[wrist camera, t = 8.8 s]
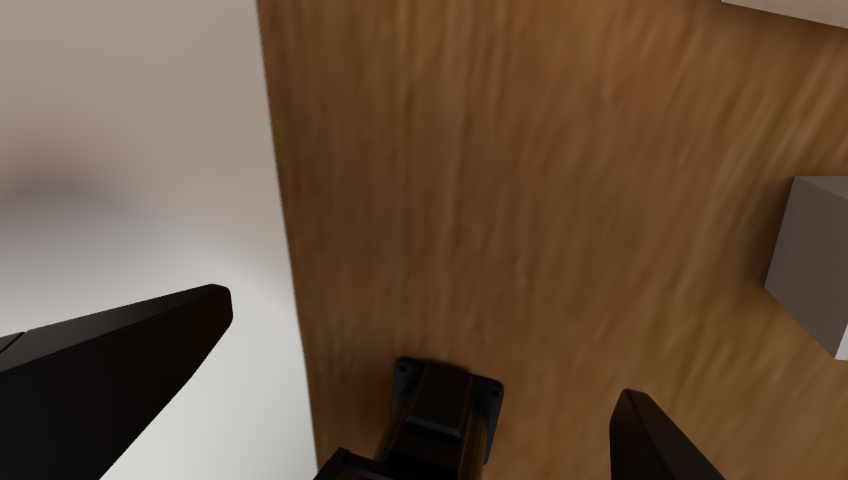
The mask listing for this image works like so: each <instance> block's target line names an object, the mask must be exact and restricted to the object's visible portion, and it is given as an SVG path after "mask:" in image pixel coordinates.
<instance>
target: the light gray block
mask: <svg viewBox="0 0 848 480" xmlns="http://www.w3.org/2000/svg"><path fill="white" fill-rule="evenodd" d="M764 288H765V289H766V290H767V291H768V292H769V293H770V294H771V295H772V296H773V297H774V298H775V299H776V300H777V301H778V302H779V303H780V304H781V305H782V306H783V307H784V308H785V309H786V310H787V311H788V312H789V313H790V314H791V315H792V316H793V317H794V318H795V320H796V321H797V322H798V323H799V324H800V325H801V326H802V327H803V328H804V329H805V330H806V331H807V332H808V333H809V334H810V335H811V336H812V337H813V338H814V339H815V340H816V341H817V342H818V343H819V344H820V345H821V346H822V347H823V348H824V349H825V350H826V351H827V352H828V353H829V354H830V355H831V356H832V357H833V358H834V359H840V360H848V176H795V177H794V180H793V184H792V188H791V191H790V195H789V199H788V202H787V206H786V209H785V213H784V217H783V220H782V224H781V228H780V231H779V235H778V239H777V242H776V246H775V249H774V253H773V257H772V260H771V264H770V268H769V271H768V275H767V278H766V282H765V286H764Z"/></svg>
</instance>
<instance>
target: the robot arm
mask: <svg viewBox="0 0 848 480" xmlns="http://www.w3.org/2000/svg"><path fill="white" fill-rule="evenodd" d="M232 319H233V310H232V302H231V294H230V291H229V289H228V288H227V287H224V286H220V285H216V284H208V285H204V286H200V287H196V288H192V289H189V290H185V291H181V292H177V293H173V294H169V295H165V296H161V297H157V298H153V299H149V300H146V301H141V302H137V303H134V304H130V305H126V306H122V307H118V308H114V309H110V310H106V311H102V312H98V313H94V314H90V315H86V316H82V317H79V318H75V319H71V320H67V321H63V322H59V323H55V324H51V325H47V326H43V327H39V328H35V329H31V330H28V331H27V332H19V333H15V334H11V335H8V336H4V337H0V480H100V478H101V477H102V476H103V475H104V474H105V473H106V472H107V471H108V469H109V468H110V467H111V466H112V465H113V464H114V463H115V462H116V461H117V459H118V458H119V457H120V456H121V455H122V454H123V453H124V452H125V451H126V450H127V448H128V447H129V446H130V445H131V444H132V443H133V442H134V440H135V439H136V438H137V437H138V436H139V435H140V434H141V433H142V432H143V431H144V430H145V428H146V427H147V426H148V425H149V424H150V423H151V421H153V420H154V418H155V417H156V416H157V415H158V414H159V413H160V412H161V411H162V410H163V408H164V407H165V406H166V405H167V404H168V403H169V402H170V401H171V399H172V398H173V397H174V396H175V395H176V394H177V393H178V392H179V391H180V389H181V388H182V387H183V386H184V385H185V384H186V383H187V382H188V380H189V379H190V378H191V377H192V376H193V374H194V373H195V372H196V370H197V369H198V368H199V367H200V365H201V364H202V363H203V361H204V360H205V359H206V357H207V356H208V354H209V353H210V352H211V351H212V349H213V348H214V346H215V345H216V344H217V342H218V341H219V340H220V338H221V337H222V336H223V334H224V333H225V332H226V330H227V329H228V328H229V326H230V325H231V322H232ZM402 365H404V366H406V368H404V367H403V366H402ZM492 390H496V391H498V392H493V391H492ZM503 396H504V387H503V386H502V385H501V384H500V383H498V382H494V381H491V380H487V379H483V378H479V377H475V376H472V375H468V374H464V373H460V372H457V371H453V370H449V369H445V368H442V367H438V366H434V365H430V364H427V363H423V362H419V361H415V360H412V359H408V358H400V359H399V360H398V361H397V363H396V366H395V374H394V385H393V396H392V407H391V417H390V420H389V422H388V424H387V427H386V429H385V431H384V433H383V436H382V438H381V440H380V443H379V445H378V447H377V450H376V452H375V454H374V457H373V459H369V458H366V457H363V456H360V455H357V454H353V453H350V450H347V449H344V448H341V447H339V448H338V449H337V451H336V452H335V453H334V455H333V456H332V457H331V458H330V459H328V461H327V462H326V463H325V465H324V466H323V467H322V468H321V470H320V471H319V472H318V474H317V475H316V477H315V478H314V479H313V480H481V476H482V469H483V465H485V464H486V463H487V462H488V458H489V454H490V450H491V445H492V441H493V437H494V433H495V429H496V425H497V421H498V417H499V413H500V409H501V405H502V400H503ZM609 433H610V459H611V480H726V479H725V478H724V477H723V476H722V475H721V474H720V472H719V471H718V470H717V469H716V468H715V467H714V466H713V465H712V464H711V463H710V462H709V460H708V459H707V458H706V457H705V456H704V455H703V454H702V453H701V452H700V451H699V450H698V448H697V447H696V446H695V445H694V444H693V443H692V442H691V441H690V440H689V439H688V438H687V436H686V435H685V434H684V433H683V432H682V431H681V430H680V429H679V428H678V427H677V426H676V425H675V423H674V422H673V421H672V420H671V419H670V418H669V417H668V416H667V415H666V414H665V413H664V411H663V410H662V409H661V408H660V407H659V406H658V405H657V404H656V403H655V402H654V401H653V399H652V398H651V397H650V396H649V395H648V394H646V393H644V392H640V391H636V390H632V389H628V388H627V389H624V390H623V391H622V392H621V394H620V396H619V399H618V401H617V404H616V406H615V409H614V411H613V414H612V416H611V420H610V427H609Z"/></svg>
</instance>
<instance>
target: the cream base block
mask: <svg viewBox="0 0 848 480" xmlns="http://www.w3.org/2000/svg"><path fill="white" fill-rule="evenodd" d="M721 2H725V3H730V4H734V5H739V6H744V7H749V8H753V9H758V10H763V11H767V12H772V13H777V14H782V15H786V16H791V17H796V18H800V19H805V20H810V21H815V22H819V23H824V24H829V25H833V26H838V27H843V28H848V0H721Z"/></svg>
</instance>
